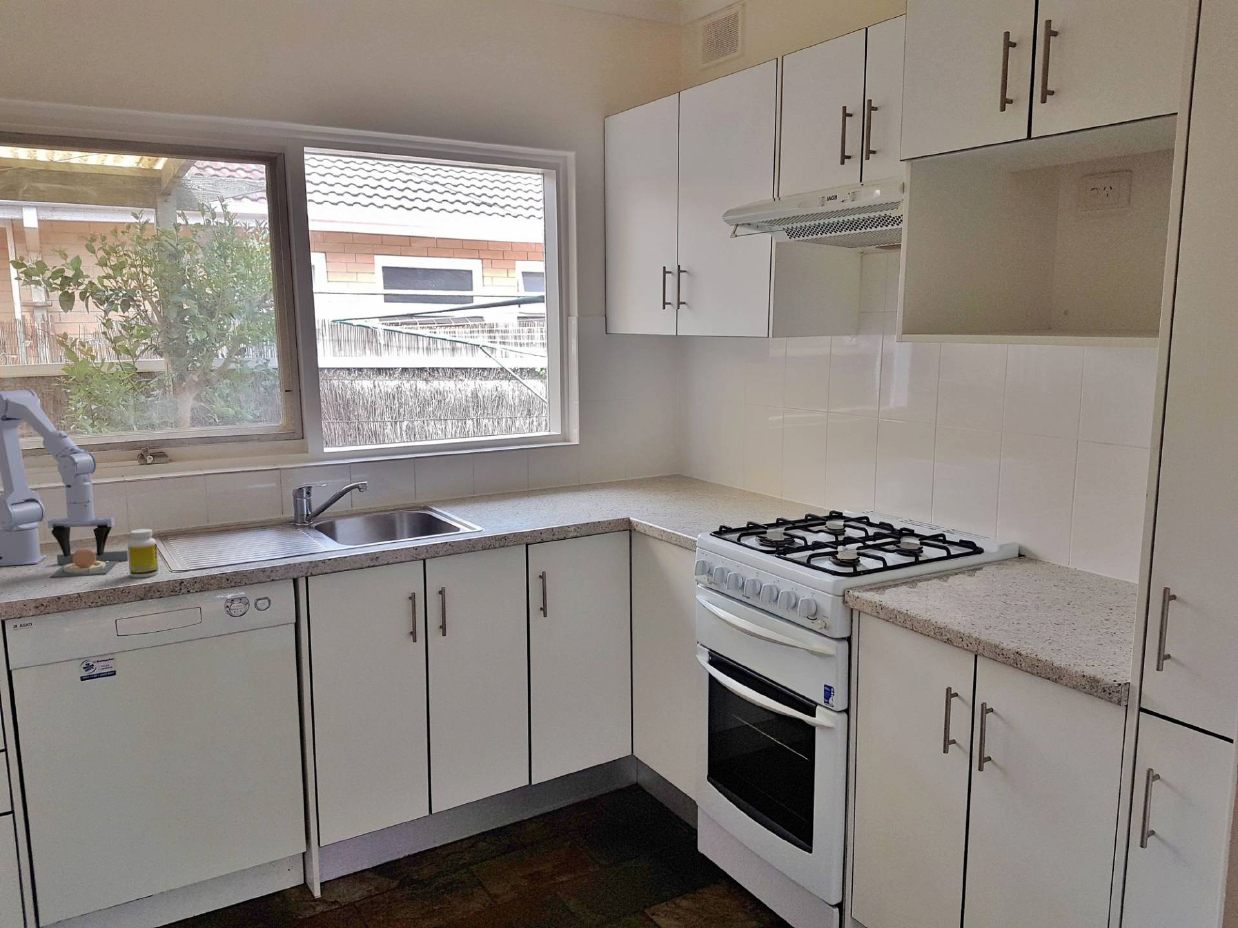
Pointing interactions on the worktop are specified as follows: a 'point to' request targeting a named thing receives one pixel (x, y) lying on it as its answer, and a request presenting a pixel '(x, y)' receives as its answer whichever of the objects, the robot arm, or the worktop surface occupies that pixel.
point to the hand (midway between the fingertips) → (83, 555)
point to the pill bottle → (142, 554)
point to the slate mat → (84, 569)
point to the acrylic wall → (97, 557)
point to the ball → (84, 558)
